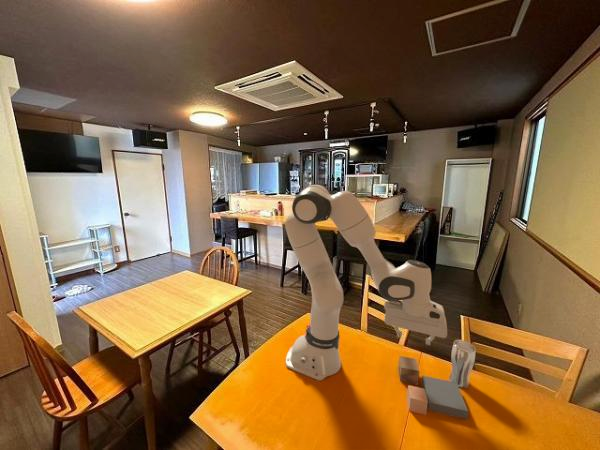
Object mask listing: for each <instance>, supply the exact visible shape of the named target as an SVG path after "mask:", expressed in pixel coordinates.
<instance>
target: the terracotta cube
mask: <svg viewBox="0 0 600 450" xmlns="http://www.w3.org/2000/svg"><path fill="white" fill-rule="evenodd" d="M406 401H407V406H408V411H409V412H413V413H417V414H421V415H425V416H426V415H427V412H428V407H427V404H428V401H427V397H426V393H425V389H423V387H418V386H413V385H409V384H408V385H407V392H406Z"/></svg>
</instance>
